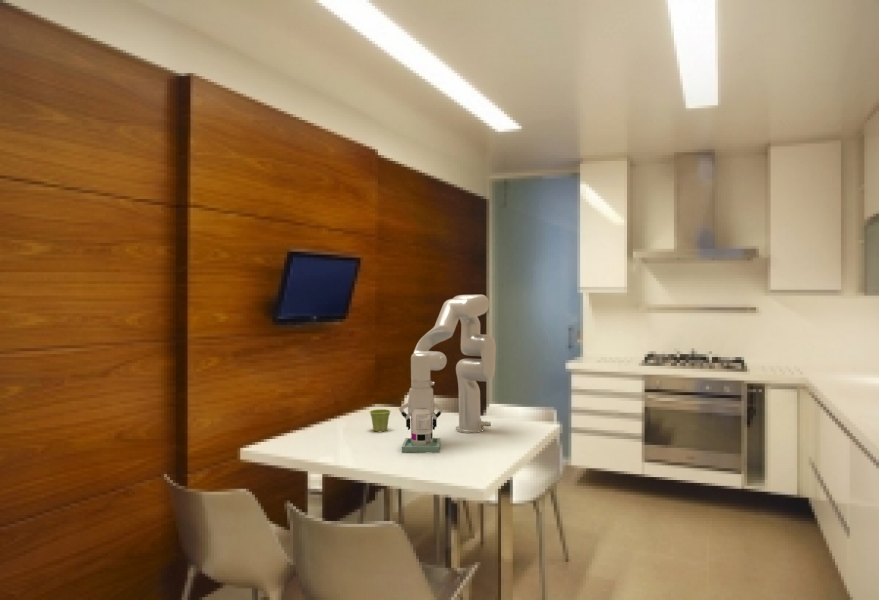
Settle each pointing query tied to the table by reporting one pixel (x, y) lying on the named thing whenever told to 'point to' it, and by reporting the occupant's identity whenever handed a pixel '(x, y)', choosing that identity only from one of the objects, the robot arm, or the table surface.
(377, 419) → the plant pot
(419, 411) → the supplement can
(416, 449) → the tray
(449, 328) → the robot arm
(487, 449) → the table surface
